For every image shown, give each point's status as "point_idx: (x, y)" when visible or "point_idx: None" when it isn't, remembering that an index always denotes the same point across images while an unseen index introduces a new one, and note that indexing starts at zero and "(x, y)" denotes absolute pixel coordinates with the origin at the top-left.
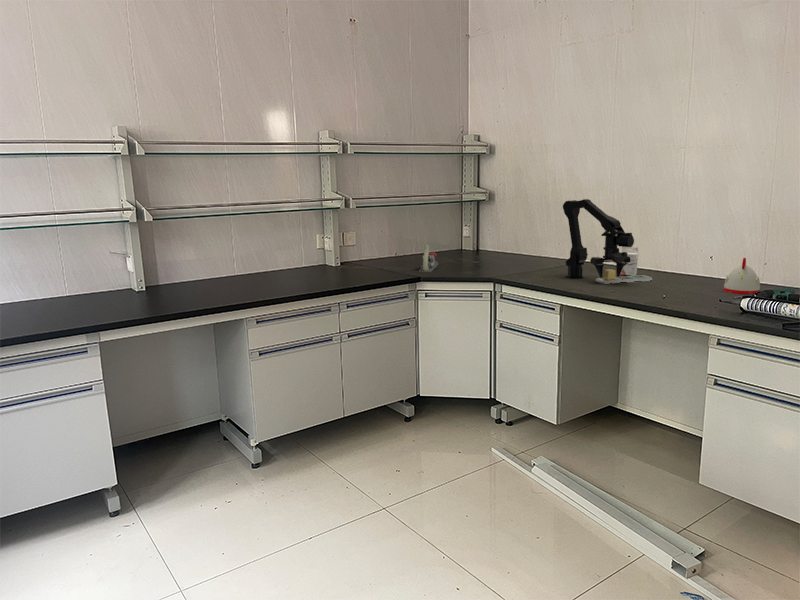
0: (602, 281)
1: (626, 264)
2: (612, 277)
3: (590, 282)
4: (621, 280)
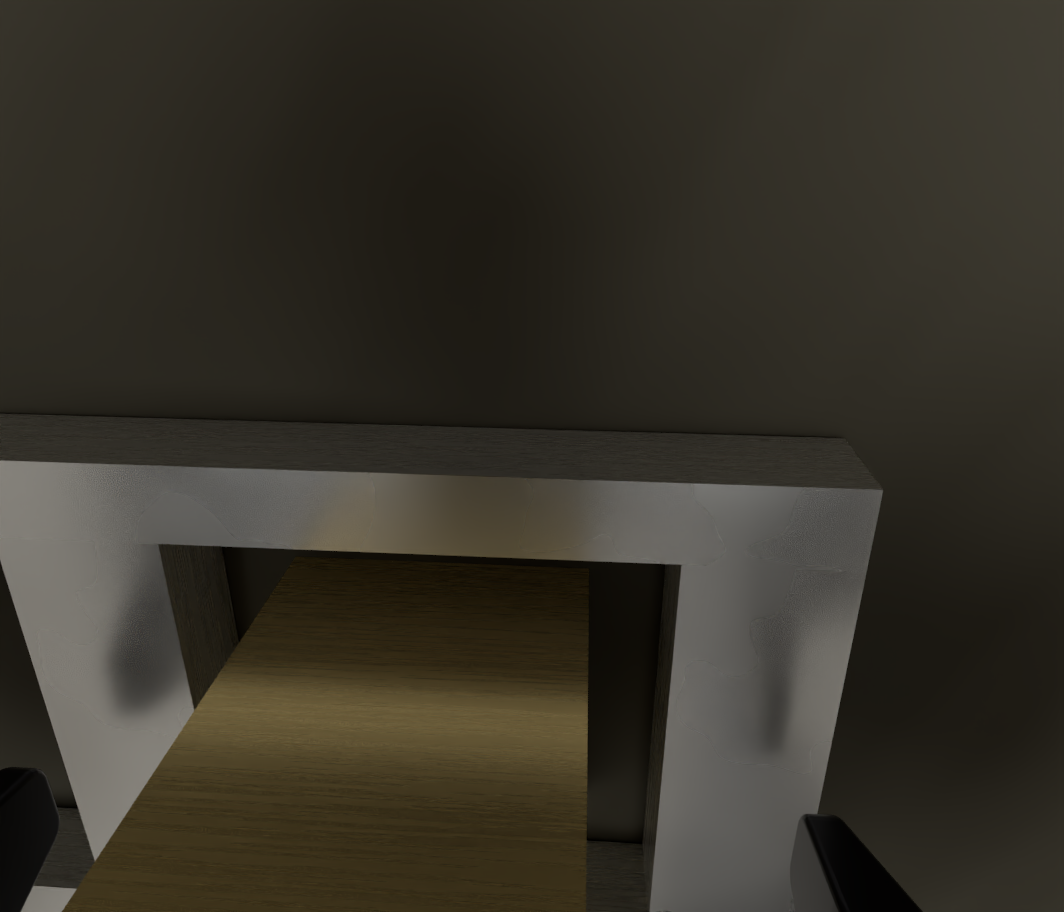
0: (838, 617)
1: None
2: (364, 691)
3: (1060, 815)
4: (63, 451)
